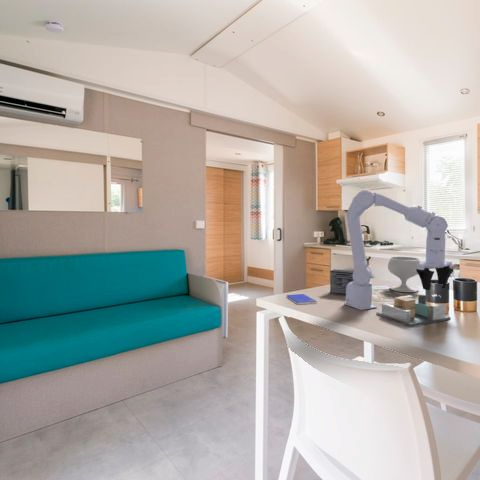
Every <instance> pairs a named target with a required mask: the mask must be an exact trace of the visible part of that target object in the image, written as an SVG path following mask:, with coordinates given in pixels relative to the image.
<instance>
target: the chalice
mask: <svg viewBox="0 0 480 480" xmlns="http://www.w3.org/2000/svg"><path fill="white" fill-rule="evenodd" d="M420 263H421V261H420V259H419V258H417V257H411V256H392V257H390V259H389V261H388V264H387V269H388V271H389V273H391V274H393V275H394V276H396V277H397V278H399V280H400V281H401V284H400V285H393V286H389V289H390V290H391V291H394V292H398V293H399V292H401V293H417V292H419V289H418V288H415V287H412V286H408V285H407V281H408V280H409V279H411V278H413V277H416V276H417V275H418V273H417V271H416V269H417V265H418V264H420ZM418 276H419V275H418Z"/></svg>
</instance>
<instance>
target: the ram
mask: <svg viewBox="0 0 480 480" xmlns="http://www.w3.org/2000/svg"><path fill="white" fill-rule="evenodd" d="M417 295H418V296H417V297H418V299H417V301H415V313H416V314H419V315H422V316H425V317H429V304H427V295H426V294H417Z"/></svg>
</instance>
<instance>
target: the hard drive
mask: <svg viewBox="0 0 480 480" xmlns="http://www.w3.org/2000/svg"><path fill="white" fill-rule="evenodd" d="M286 299H288V300H290V301H292V302H293V303H294V304H296V305H298V306H299V305H312V304H317V303H318V301H317V300H316V299H313V298H312V297H310V296H308V295H306V294H304V293H299V294H298V293H296V294H287V295H286Z"/></svg>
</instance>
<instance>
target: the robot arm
mask: <svg viewBox="0 0 480 480" xmlns="http://www.w3.org/2000/svg"><path fill="white" fill-rule="evenodd" d="M372 206H374V207H384V208H387V209H389V210H392V211H393V212H396V213H398V214H401V215H403V216H404V218H405V221H407V222H410V223H412V224H414V225H416V226H418V227H421V228H422V229H424V228H426V230H427V232H426V235H427V236H426V241H425V242H426V244H425V247H426V248H425V249H426V250H425V261H424V262H420V264H418V265H417V269H416V271H417V273H418V277H419V278H420V281H421V285H422V289H423V290H426V291H430V290H431V285H432V279H433V275H434V274H435V272H436V276H437V285H438V284H443V287H442V288H441V289H446V286H447V284H448V281H449V278H450V277H451V274H452V273H453V272H454V268H453V262H452V261H446V260H445V259H446V230H447V229H448V228H449V227H448V226H449V224H448V222H447V220H446V219H445V218H444V217H442V216H439V215H436V213H435V212H430V211H427V210H425V209H423V208H422V206H420V205H411V206H407V205H404V204H403V203H400V202H398V201H396V200H394V199H392V198H390V197H388V196H385V195H383V194H380V193H376V192H372V191H370V190H361V191H359V192H358V193H357V194H355V196H354V197H353V198H352V201H351V203H350V205H349V207H348V209H347V211H346V213H345V214H346V222H347V228H348V233H349V241H350V247H351V252H352V259H353V271H354V272H353V280H354V281H352V282H350V283H348V285H347V287H346V295H345V302H344V304H343V305H347V306H348V307H352V308H355V309H356V310H360V311H363V310H370V309H377V308H378V306H376V305H373V303H372V301H373V299H372V298H373V282H372V281H371V278H372V270H371V268H370V266H369V265H368V262H367V260H368V259H367V257H366V249H365V244H364V238H363V237H364V236H363V232H362V225H361V216H362V215H363V214H364V213H365V211H366V210H368V209H370V208H371V207H372ZM433 269H434V270H435V271H433Z"/></svg>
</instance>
